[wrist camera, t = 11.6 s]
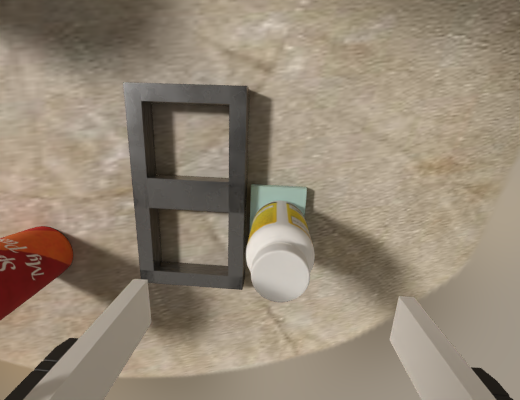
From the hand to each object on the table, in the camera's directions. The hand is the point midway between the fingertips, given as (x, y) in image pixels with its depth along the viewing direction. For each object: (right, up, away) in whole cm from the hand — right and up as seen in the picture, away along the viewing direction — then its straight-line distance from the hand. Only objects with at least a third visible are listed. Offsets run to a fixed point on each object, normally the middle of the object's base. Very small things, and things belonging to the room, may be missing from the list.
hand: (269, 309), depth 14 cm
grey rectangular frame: (-7, +7, +14) cm, 17 cm away
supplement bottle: (+2, +3, +13) cm, 14 cm away
